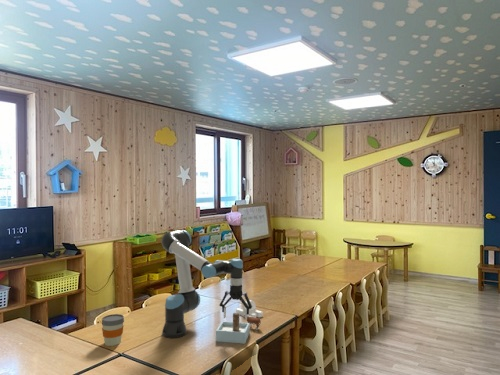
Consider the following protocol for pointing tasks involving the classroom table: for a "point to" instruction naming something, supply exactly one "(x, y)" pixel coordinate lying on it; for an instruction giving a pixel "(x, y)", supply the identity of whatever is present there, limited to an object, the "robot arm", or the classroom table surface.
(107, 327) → the reusable coffee cup
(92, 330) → the classroom table surface
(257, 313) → the white rounded shape
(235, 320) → the walnut peg
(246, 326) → the blue box
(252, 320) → the bull figurine
